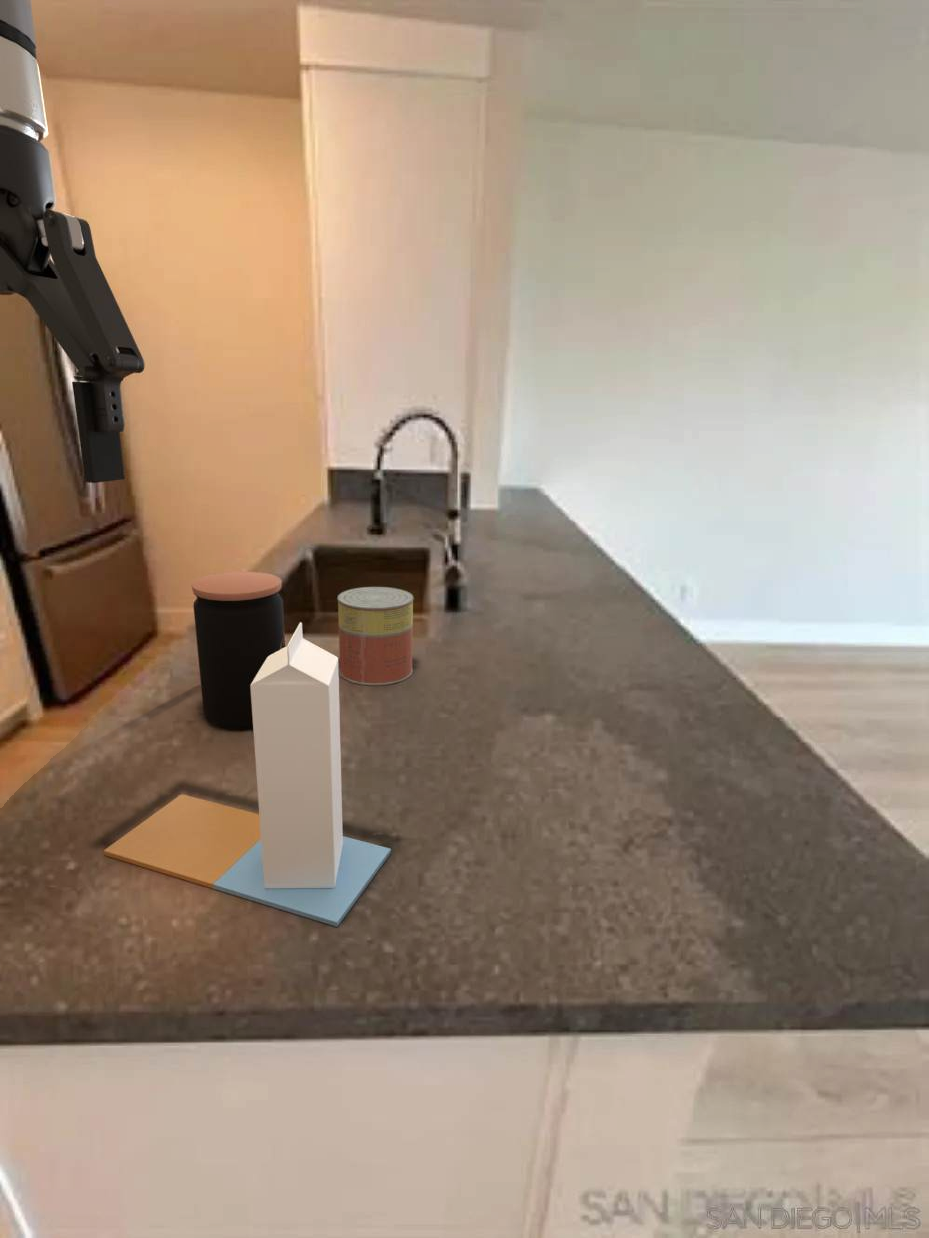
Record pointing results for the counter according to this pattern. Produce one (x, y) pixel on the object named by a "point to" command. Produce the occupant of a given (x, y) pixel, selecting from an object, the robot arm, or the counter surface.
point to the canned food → (375, 635)
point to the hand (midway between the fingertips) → (33, 473)
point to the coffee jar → (235, 640)
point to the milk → (298, 765)
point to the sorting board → (240, 858)
